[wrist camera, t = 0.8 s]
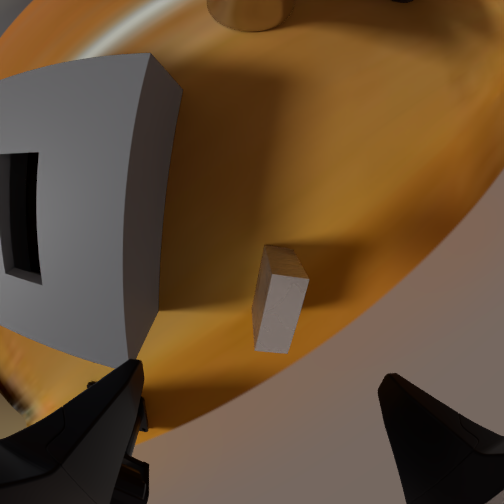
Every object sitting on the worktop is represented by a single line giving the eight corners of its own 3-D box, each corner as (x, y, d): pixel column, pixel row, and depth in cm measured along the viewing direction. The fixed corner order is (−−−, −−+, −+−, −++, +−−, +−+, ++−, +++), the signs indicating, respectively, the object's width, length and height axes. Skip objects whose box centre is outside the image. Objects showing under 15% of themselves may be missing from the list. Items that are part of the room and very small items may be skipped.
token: (277, 311, 20) (287, 353, 16) (251, 308, 20) (254, 350, 16) (292, 249, 19) (309, 279, 14) (264, 244, 19) (272, 273, 14)
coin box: (158, 311, 20) (129, 372, 13) (25, 278, 19) (-21, 314, 12) (183, 89, 15) (150, 53, 8) (29, 98, 14) (-29, 91, 7)
